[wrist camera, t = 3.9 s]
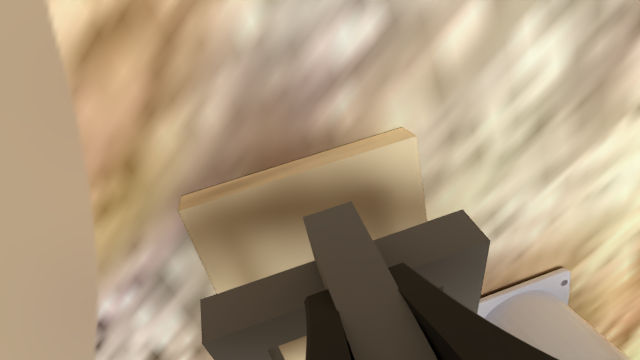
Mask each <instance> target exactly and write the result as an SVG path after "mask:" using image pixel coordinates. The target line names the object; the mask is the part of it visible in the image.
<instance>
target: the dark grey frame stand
mask: <svg viewBox="0 0 640 360" xmlns="http://www.w3.org/2000/svg"><path fill="white" fill-rule="evenodd" d="M303 220H304V224H305V227H306V231H307V234H308V238H309V241H310V245H311V248H312V252H313V255H314V259H315V261H312V262H309V263H306V264H303V265H300V266H297V267H294V268H291V269H288V270H285V271H283V272H280V273H277V274H274V275H271V276H268V277H265V278H262V279H259V280H256V281H253V282H251V283H248V284H245V285H242V286H239V287H236V288H233V289H230V290H227V291H224V292H222V293H219V294H216V295H213V296H210V297H207V298H204V299H201V325H202V344H203V345H204V347H205V348H206V349H207V351H208V352H209V353H210V355H211V356H212V357H213V359H214V360H285V359H284V357H283V355H282V353H281V351H280V349H279V347H278V346H280V345H283V344H286V343H288V342H291V341H294V340H297V339H299V338H302V337H305V336H307V326H306V310H305V304H304V300H305V299H306V297H307V296H310V295H313V294H316V293H318V292H321V291H324V290H327V289H328V291H329V293H330V295H331V298H332V300H333V302H334V305H335V307H336V310H337V311H339V314H340V318H341V322H342V326H343V329H344V333H345V336H346V340H347V343H348V347H349V350H350V354H351V357H352V360H438V359H437V357H436V356H435V354H434V352H433V350H432V348H431V346H430V345H429V343H428V341H427V339H426V337H425V335H424V334H423V332H422V330H421V328H420V326H419V324H418V322H417V321H416V319H415V317H414V315H413V313H412V311H411V310H410V308H409V306H408V304H407V303H406V301H405V300H404V298H403V296H402V295H401V293H400V292H399V290H398V289H399V288H398V286H397V284H396V282H395V280H394V278H393V277H392V275H391V273H390V271H389V269H388V268H389V267H392V266H394V265H397V264H400V263H405V264H407V265H408V266H410V267H411V268H412V269H414V270H415V271H416V272H418V273H419V274H420V275H421V276H423V277H424V278H425V279H427V280H428V281H430V282H431V283H432V284H434V285H435V286H436V287H438V288H439V289H441V290H442V291H443V292H445V293H446V294H448V295H449V296H451V297H452V298H454V299H455V300H457V301H458V302H460V303H461V304H463V305H464V306H466V307H467V308H469V309H470V310H472V311H473V312H475V313H476V314H477V312H478V307H479V301H480V295H481V290H482V284H483V279H484V273H485V267H486V262H487V256H488V250H489V245H490V240H489V239H488V238H487V237H486V236H485V234H484V233H483V232H482V231H481V230H480V229H479V228H478V226H477V225H476V224H475V223H474V222H473V221H472V220H471V219H470V217H469V216H468V215H467V214H466V213H465V212H464V211H463V210H460V211H457V212H454V213H451V214H448V215H445V216H442V217H440V218H437V219H434V220H431V221H428V222H425V223H422V224H419V225H416V226H413V227H410V228H408V229H405V230H402V231H399V232H396V233H393V234H390V235H387V236H384V237H381V238H378V239H376V240H372V238H371V236H370V234H369V232H368V231H367V229H366V227H365V225H364V223H363V221H362V220H361V218H360V216H359V214H358V212H357V210H356V209H355V207H354V205H353V203H352V201H350V202H347V203H344V204H341V205H338V206H335V207H332V208H329V209H326V210H323V211H320V212H317V213H314V214H311V215H308V216H305V217H303Z"/></svg>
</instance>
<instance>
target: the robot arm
mask: <svg viewBox="0 0 640 360" xmlns="http://www.w3.org/2000/svg"><path fill="white" fill-rule="evenodd" d="M388 269H389V271H390V273H391V275H392V277H393V278H394V280H395V282H396V284H397V286H398V288H399V289H398V290H399V292H400V293H401V295H402V296H403V298H404V300H405V301H406V303H407V304H408V306H409V308H410V310H411V311H412V313H413V315H414V317H415V319H416V321H417V322H418V324H419V326H420V328H421V330H422V332H423V334H424V335H425V337H426V339H427V341H428V343H429V345H430V346H431V348H432V350H433V352H434V354H435V356H436V357H437V359H438V360H631V359H630V358H629V357H627V356H626V355H625V354H624V353H623V352H622V351H620V350H619V349H618V348H617V347H616V346H614V345H613V344H612V343H611V342H610V341H609V340H607V339H606V338H605V337H604V336H603V335H602V334H600V333H599V332H598V331H597V330H596V329H595V328H593V327H592V326H591V325H590V324H589V323H587V322H586V321H585V320H584V319H583V318H582V317H580V316H579V315H578V314H577V313H576V312H575V311H573V310H572V309H571V308H570V307H569V306H568V299H569V288H570V277H571V273H570V271H568V270H567V269H566V268H561V269H558V270H555V271H553V272H550V273H547V274H545V275H542V276H539V277H537V278H534V279H531V280H529V281H526V282H523V283H521V284H518V285H515V286H513V287H510V288H507V289H505V290H502V291H499V292H497V293H494V294H491V295H489V296H486V297H483V298H481V299H480V301H479V307H478V312H477V314H476V313H475V312H473V311H472V310H470V309H469V308H467V307H466V306H464V305H463V304H461V303H460V302H458V301H457V300H455V299H454V298H452V297H451V296H449V295H448V294H446V293H445V292H443V291H442V290H441V289H439V288H438V287H436V286H435V285H434V284H432V283H431V282H430V281H428V280H427V279H425V278H424V277H423V276H421V275H420V274H419V273H418V272H416V271H415V270H414V269H412V268H411V267H410V266H408V265H407V264H405V263H400V264H397V265H394V266H392V267H389V268H388ZM304 304H305V310H306V326H307V337H306V359H305V360H352V357H351V354H350V350H349V347H348V343H347V340H346V336H345V333H344V329H343V326H342V322H341V318H340V314H339V311H337V310H336V307H335V305H334V302H333V300H332V298H331V295H330V293H329V291H328V289H327V290H324V291H321V292H318V293H316V294H313V295H310V296H307V297H306V299H305V300H304Z"/></svg>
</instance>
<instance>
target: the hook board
mask: <svg viewBox="0 0 640 360" xmlns="http://www.w3.org/2000/svg"><path fill="white" fill-rule="evenodd" d="M350 201H352V203H353V205H354V207H355V209H356V210H357V212H358V214H359V216H360V218H361V220H362V221H363V223H364V225H365V227H366V229H367V231H368V232H369V234H370V236H371V238H372V240H376V239H378V238H381V237H384V236H387V235H390V234H393V233H396V232H399V231H402V230H405V229H408V228H410V227H413V226H416V225H419V224H422V223H425V222H427V218H426V210H425V202H424V194H423V185H422V177H421V169H420V161H419V153H418V145H417V136H416V135H414V134H413V133H411V132H409V131H408V130H406V129H405V128H403V127H401V128H398V129H395V130H391V131H388V132H385V133H382V134H379V135H375V136H372V137H369V138H366V139H363V140H359V141H356V142H353V143H350V144H347V145H343V146H340V147H337V148H334V149H331V150H327V151H324V152H321V153H318V154H315V155H311V156H308V157H305V158H302V159H299V160H295V161H292V162H289V163H286V164H283V165H279V166H276V167H273V168H270V169H267V170H263V171H260V172H257V173H254V174H251V175H247V176H244V177H241V178H238V179H235V180H231V181H228V182H225V183H222V184H218V185H215V186H212V187H209V188H206V189H202V190H199V191H196V192H193V193H190V194H186V195H183V196H181V200H180V204H179V209H178V213H179V215H180V217H181V219H182V221H183V223H184V226H185V228H186V230H187V232H188V234H189V236H190V238H191V240H192V242H193V244H194V247H195V249H196V251H197V253H198V255H199V257H200V259H201V261H202V263H203V266H204V268H205V270H206V272H207V274H208V276H209V278H210V280H211V282H212V285H213V287H214V289H215V291H216V293H217V294H219V293H222V292H224V291H227V290H230V289H233V288H236V287H239V286H242V285H245V284H248V283H251V282H253V281H256V280H259V279H262V278H265V277H268V276H271V275H274V274H277V273H280V272H283V271H285V270H288V269H291V268H294V267H297V266H300V265H303V264H306V263H309V262H312V261H315V259H314V255H313V252H312V248H311V245H310V241H309V238H308V234H307V231H306V227H305V224H304V220H303V217H305V216H308V215H311V214H314V213H317V212H320V211H323V210H326V209H329V208H332V207H335V206H338V205H341V204H344V203H347V202H350ZM306 337H307V336H305V337H302V338H299V339H297V340H294V341H291V342H288V343H286V344H283V345H280V346H278V347H279V349H280V351H281V353H282V355H283V357H284V359H285V360H305V359H306Z"/></svg>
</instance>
